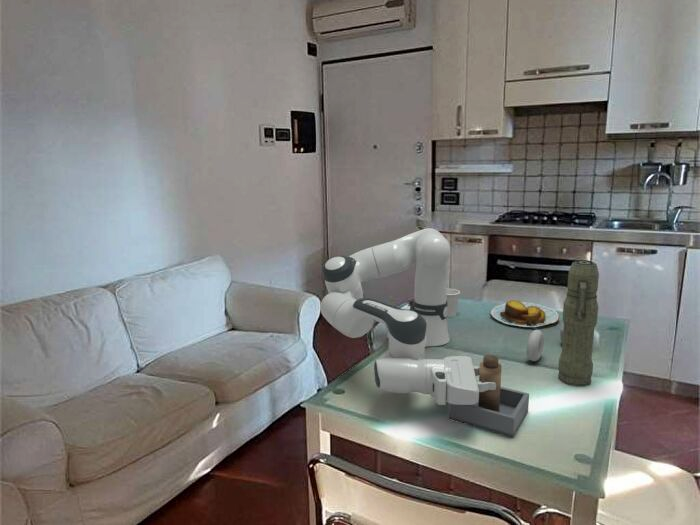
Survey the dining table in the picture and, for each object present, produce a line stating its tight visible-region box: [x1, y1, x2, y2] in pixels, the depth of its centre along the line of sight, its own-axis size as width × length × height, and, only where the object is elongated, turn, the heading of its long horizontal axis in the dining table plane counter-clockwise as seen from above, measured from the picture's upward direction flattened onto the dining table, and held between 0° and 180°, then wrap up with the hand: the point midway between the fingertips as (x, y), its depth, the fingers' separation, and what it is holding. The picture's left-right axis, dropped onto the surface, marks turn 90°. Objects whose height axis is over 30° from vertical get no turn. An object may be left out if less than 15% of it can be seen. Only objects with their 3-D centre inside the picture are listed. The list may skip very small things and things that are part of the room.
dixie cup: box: [446, 288, 461, 318], centre depth 200 cm, size 8×8×10 cm
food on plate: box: [489, 300, 560, 328], centre depth 195 cm, size 25×25×7 cm
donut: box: [526, 329, 545, 362], centre depth 156 cm, size 10×4×10 cm, turn 145°
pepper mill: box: [478, 354, 503, 412], centre depth 124 cm, size 5×5×14 cm
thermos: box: [557, 259, 600, 387], centre depth 140 cm, size 9×12×35 cm
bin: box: [448, 380, 530, 439], centre depth 125 cm, size 16×14×5 cm
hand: (493, 379), depth 123 cm, fingers closed on pepper mill, 5 cm apart
